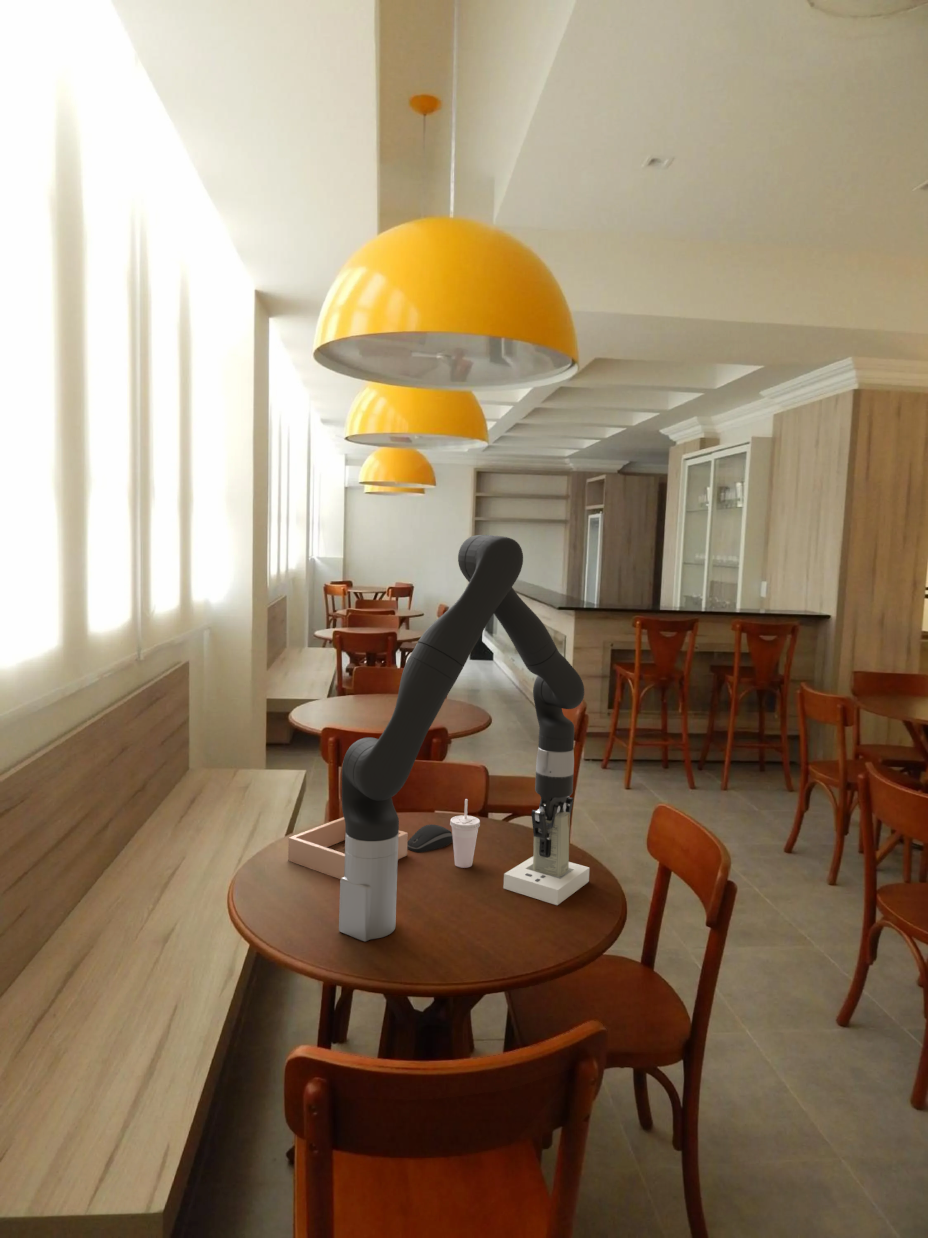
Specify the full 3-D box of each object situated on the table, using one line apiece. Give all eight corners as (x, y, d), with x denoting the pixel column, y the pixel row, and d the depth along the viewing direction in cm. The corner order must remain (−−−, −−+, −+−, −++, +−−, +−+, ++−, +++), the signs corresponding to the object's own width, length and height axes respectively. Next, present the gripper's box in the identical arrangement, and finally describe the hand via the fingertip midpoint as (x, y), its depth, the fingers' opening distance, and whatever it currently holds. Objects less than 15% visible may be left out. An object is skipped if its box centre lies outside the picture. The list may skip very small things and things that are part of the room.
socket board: (557, 905, 151) (558, 887, 151) (503, 888, 158) (504, 871, 157) (588, 881, 163) (589, 865, 162) (537, 866, 169) (538, 851, 169)
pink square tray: (349, 882, 157) (350, 858, 157) (288, 860, 167) (288, 837, 167) (407, 855, 173) (407, 833, 172) (347, 836, 182) (348, 815, 182)
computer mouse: (399, 847, 178) (399, 830, 178) (437, 834, 187) (438, 817, 187) (421, 856, 173) (421, 838, 173) (459, 842, 182) (460, 825, 182)
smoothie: (479, 859, 172) (482, 796, 171) (477, 871, 166) (479, 806, 164) (450, 857, 172) (452, 794, 171) (446, 869, 166) (449, 804, 165)
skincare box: (569, 871, 161) (572, 812, 160) (559, 878, 157) (562, 818, 156) (540, 863, 164) (543, 806, 163) (531, 870, 160) (533, 811, 159)
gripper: (554, 781, 151) (550, 868, 152) (587, 766, 163) (582, 847, 164) (520, 774, 155) (516, 859, 157) (554, 759, 167) (550, 838, 168)
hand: (550, 852), depth 160 cm, fingers closed on skincare box, 4 cm apart
